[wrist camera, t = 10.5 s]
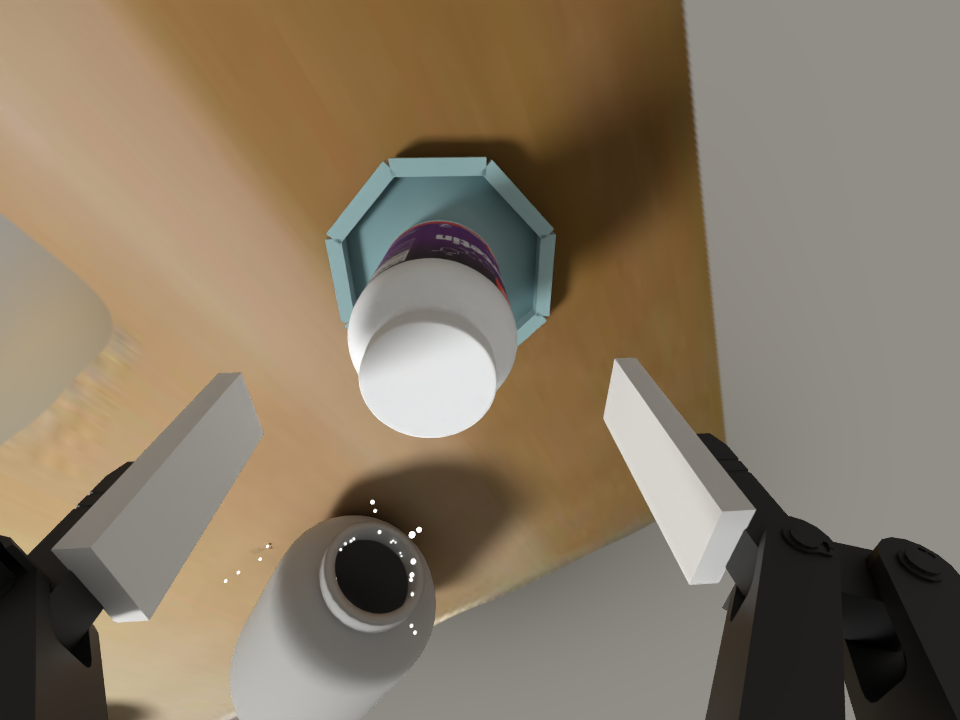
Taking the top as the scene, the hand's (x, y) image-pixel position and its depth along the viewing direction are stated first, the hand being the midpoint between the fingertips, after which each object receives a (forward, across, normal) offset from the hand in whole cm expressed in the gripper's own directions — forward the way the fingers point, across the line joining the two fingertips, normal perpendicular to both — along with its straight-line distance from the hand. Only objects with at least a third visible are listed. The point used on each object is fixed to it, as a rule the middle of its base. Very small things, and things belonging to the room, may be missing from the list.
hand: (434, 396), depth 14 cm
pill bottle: (+16, 0, -1) cm, 16 cm away
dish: (+17, 0, -1) cm, 17 cm away
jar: (+16, -11, -28) cm, 34 cm away
